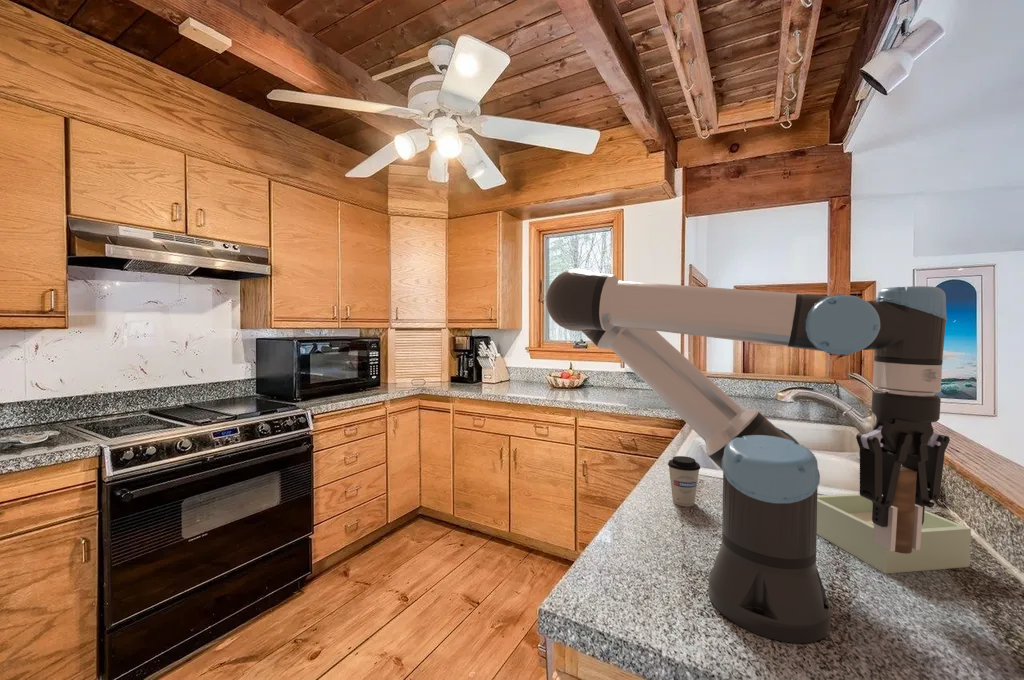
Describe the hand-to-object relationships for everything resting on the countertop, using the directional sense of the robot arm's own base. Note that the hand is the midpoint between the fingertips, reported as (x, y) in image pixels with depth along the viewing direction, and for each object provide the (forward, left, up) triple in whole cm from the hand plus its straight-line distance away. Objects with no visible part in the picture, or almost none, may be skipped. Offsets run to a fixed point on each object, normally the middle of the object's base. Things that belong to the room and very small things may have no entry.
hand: (896, 545), depth 65 cm
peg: (0, 0, 0) cm, 0 cm away
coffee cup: (-14, +36, -7) cm, 39 cm away
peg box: (+11, +13, -7) cm, 19 cm away
